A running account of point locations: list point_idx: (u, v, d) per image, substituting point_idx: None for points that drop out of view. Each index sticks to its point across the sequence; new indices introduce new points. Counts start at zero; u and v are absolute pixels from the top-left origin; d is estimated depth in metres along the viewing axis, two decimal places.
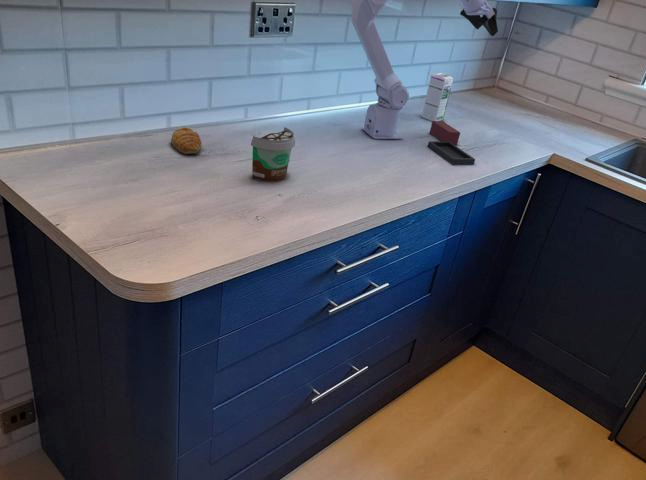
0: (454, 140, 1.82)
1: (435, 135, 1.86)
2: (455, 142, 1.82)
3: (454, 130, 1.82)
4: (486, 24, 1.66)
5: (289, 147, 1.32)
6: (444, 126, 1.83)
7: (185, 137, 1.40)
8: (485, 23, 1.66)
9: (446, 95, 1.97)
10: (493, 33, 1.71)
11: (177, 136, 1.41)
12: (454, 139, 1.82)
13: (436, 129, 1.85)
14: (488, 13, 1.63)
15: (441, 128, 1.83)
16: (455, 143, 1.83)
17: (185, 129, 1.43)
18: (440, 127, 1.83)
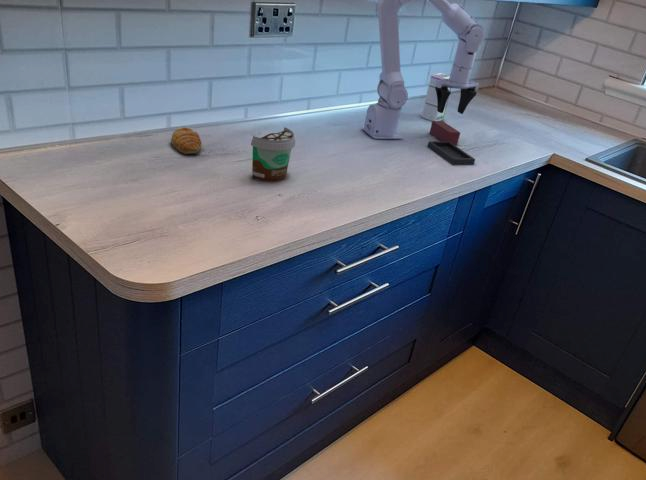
0: (454, 140, 1.82)
1: (435, 135, 1.86)
2: (455, 142, 1.82)
3: (454, 130, 1.82)
4: (436, 91, 1.77)
5: (289, 147, 1.32)
6: (444, 126, 1.83)
7: (185, 137, 1.40)
8: (435, 89, 1.77)
9: None
10: (438, 109, 1.79)
11: (177, 136, 1.41)
12: (454, 139, 1.82)
13: (436, 129, 1.85)
14: (437, 81, 1.74)
15: (441, 128, 1.83)
16: (455, 143, 1.83)
17: (185, 129, 1.43)
18: (440, 127, 1.83)
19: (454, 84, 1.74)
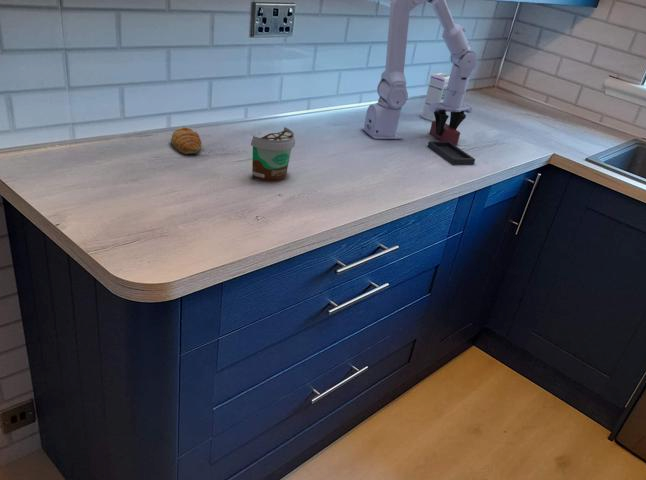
0: (454, 140, 1.82)
1: (435, 135, 1.86)
2: (455, 142, 1.82)
3: (454, 130, 1.82)
4: (435, 114, 1.81)
5: (289, 147, 1.32)
6: (444, 126, 1.83)
7: (185, 137, 1.40)
8: (434, 112, 1.81)
9: None
10: (436, 131, 1.84)
11: (177, 136, 1.41)
12: (454, 139, 1.82)
13: None
14: (431, 105, 1.77)
15: None
16: (455, 143, 1.83)
17: (185, 129, 1.43)
18: None
19: (448, 108, 1.77)
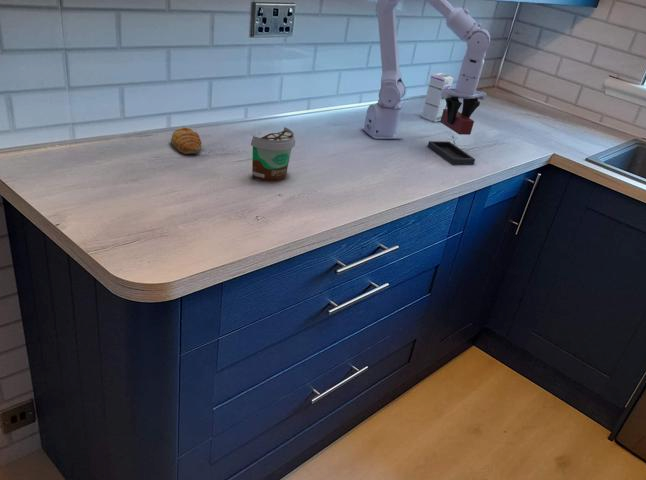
0: (467, 129, 1.69)
1: (447, 124, 1.73)
2: (468, 131, 1.69)
3: (467, 118, 1.69)
4: (446, 102, 1.69)
5: (289, 147, 1.32)
6: (456, 114, 1.70)
7: (185, 137, 1.40)
8: (446, 99, 1.68)
9: None
10: (448, 120, 1.71)
11: (177, 136, 1.41)
12: (467, 128, 1.69)
13: None
14: (442, 91, 1.64)
15: None
16: (468, 132, 1.70)
17: (185, 129, 1.43)
18: None
19: (461, 94, 1.64)
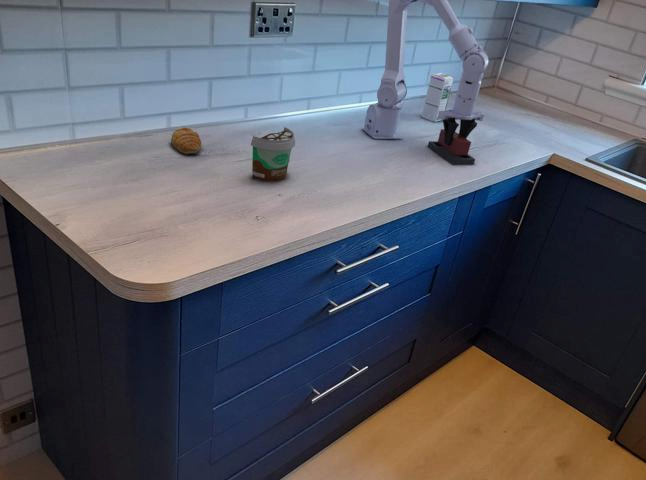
0: (464, 150, 1.69)
1: (444, 145, 1.73)
2: (465, 152, 1.69)
3: (464, 139, 1.69)
4: (443, 123, 1.69)
5: (289, 147, 1.32)
6: (453, 135, 1.70)
7: (185, 137, 1.40)
8: (443, 120, 1.68)
9: (446, 95, 1.97)
10: (445, 141, 1.71)
11: (177, 136, 1.41)
12: (464, 149, 1.69)
13: None
14: (439, 112, 1.64)
15: None
16: (465, 153, 1.70)
17: (185, 129, 1.43)
18: None
19: (458, 116, 1.64)
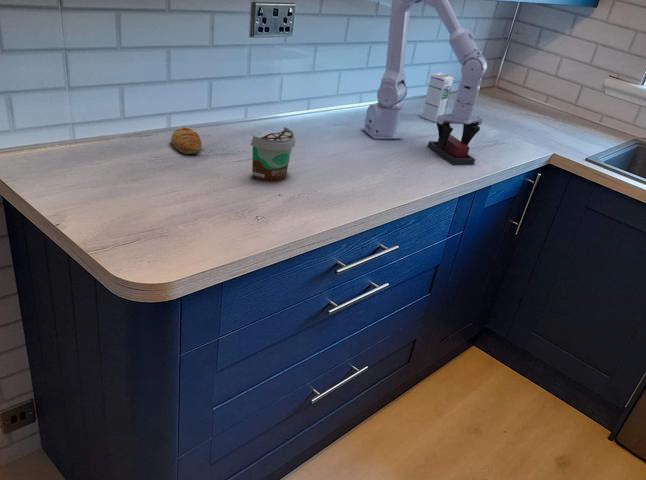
0: (463, 156, 1.70)
1: None
2: (464, 157, 1.70)
3: (463, 145, 1.70)
4: (438, 127, 1.68)
5: (289, 147, 1.32)
6: (452, 140, 1.71)
7: (185, 137, 1.40)
8: (437, 124, 1.68)
9: (446, 95, 1.97)
10: (439, 145, 1.71)
11: (177, 136, 1.41)
12: (463, 154, 1.69)
13: None
14: (438, 117, 1.65)
15: (449, 143, 1.70)
16: None
17: (185, 129, 1.43)
18: (448, 141, 1.71)
19: (456, 120, 1.65)
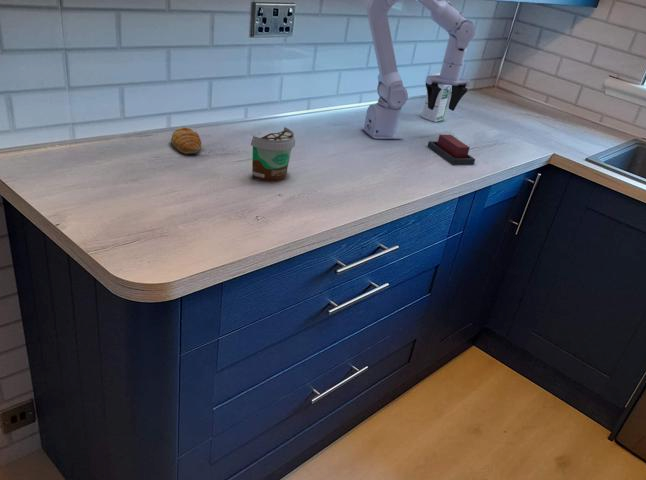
0: (463, 156, 1.70)
1: None
2: (464, 157, 1.70)
3: (463, 145, 1.70)
4: (427, 88, 1.76)
5: (289, 147, 1.32)
6: (452, 140, 1.71)
7: (185, 137, 1.40)
8: (426, 85, 1.75)
9: (446, 95, 1.97)
10: (428, 105, 1.78)
11: (177, 136, 1.41)
12: (463, 154, 1.69)
13: (444, 143, 1.73)
14: (427, 77, 1.72)
15: (449, 143, 1.70)
16: None
17: (185, 129, 1.43)
18: (448, 141, 1.71)
19: (444, 80, 1.72)
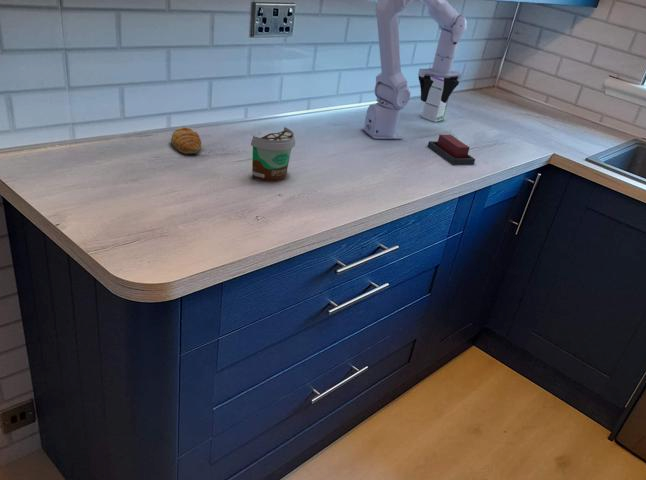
0: (463, 156, 1.70)
1: None
2: (464, 157, 1.70)
3: (463, 145, 1.70)
4: (419, 80, 1.80)
5: (289, 147, 1.32)
6: (452, 140, 1.71)
7: (185, 137, 1.40)
8: (419, 78, 1.80)
9: None
10: (421, 98, 1.83)
11: (177, 136, 1.41)
12: (463, 154, 1.69)
13: (444, 143, 1.73)
14: (419, 70, 1.77)
15: (449, 143, 1.70)
16: None
17: (185, 129, 1.43)
18: (448, 141, 1.71)
19: (437, 73, 1.77)
